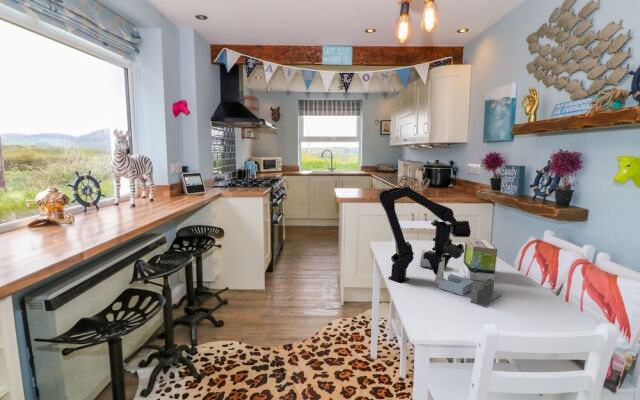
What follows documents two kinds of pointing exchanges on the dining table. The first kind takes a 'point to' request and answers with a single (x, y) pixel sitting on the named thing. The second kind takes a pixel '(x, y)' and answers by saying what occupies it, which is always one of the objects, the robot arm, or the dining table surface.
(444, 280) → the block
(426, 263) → the ceramic mug
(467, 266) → the tea box
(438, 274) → the dowel
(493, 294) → the stop wall
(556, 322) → the dining table surface
